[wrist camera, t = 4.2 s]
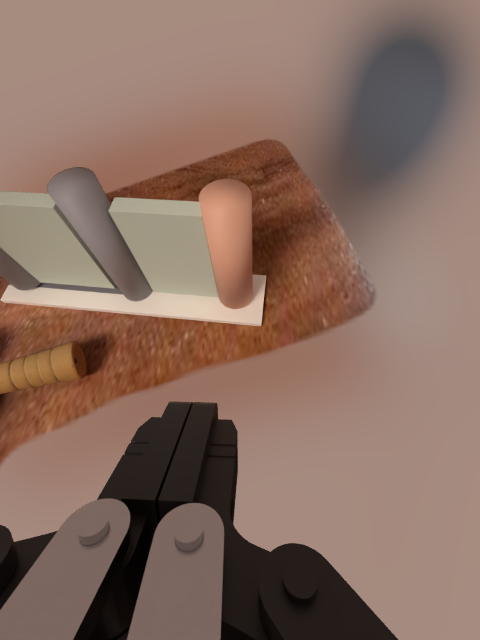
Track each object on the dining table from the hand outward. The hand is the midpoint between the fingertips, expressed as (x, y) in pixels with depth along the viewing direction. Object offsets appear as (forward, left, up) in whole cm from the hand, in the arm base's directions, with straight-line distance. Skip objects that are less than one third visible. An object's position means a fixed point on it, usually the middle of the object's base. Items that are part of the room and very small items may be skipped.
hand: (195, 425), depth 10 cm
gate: (-2, +13, -12) cm, 18 cm away
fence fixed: (-13, +15, -13) cm, 23 cm away
